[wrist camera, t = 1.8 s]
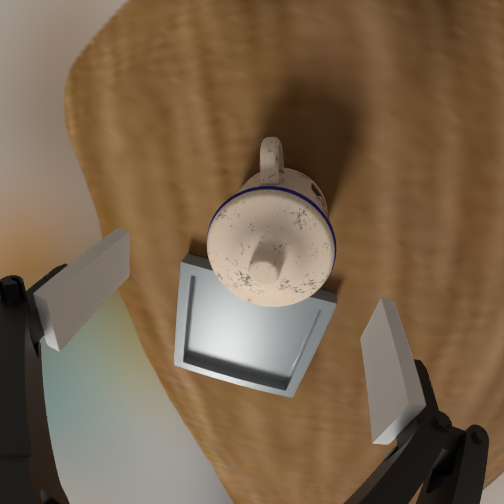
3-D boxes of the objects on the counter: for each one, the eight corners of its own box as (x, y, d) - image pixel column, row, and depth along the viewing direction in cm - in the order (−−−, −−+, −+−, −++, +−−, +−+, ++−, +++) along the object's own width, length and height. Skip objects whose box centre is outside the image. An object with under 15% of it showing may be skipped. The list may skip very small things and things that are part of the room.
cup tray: (188, 253, 33) (181, 261, 31) (336, 292, 32) (337, 303, 30) (179, 354, 40) (174, 364, 38) (293, 386, 39) (292, 397, 37)
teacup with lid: (328, 256, 30) (333, 333, 20) (238, 254, 32) (202, 326, 21) (329, 132, 25) (343, 146, 15) (227, 135, 27) (175, 153, 16)
